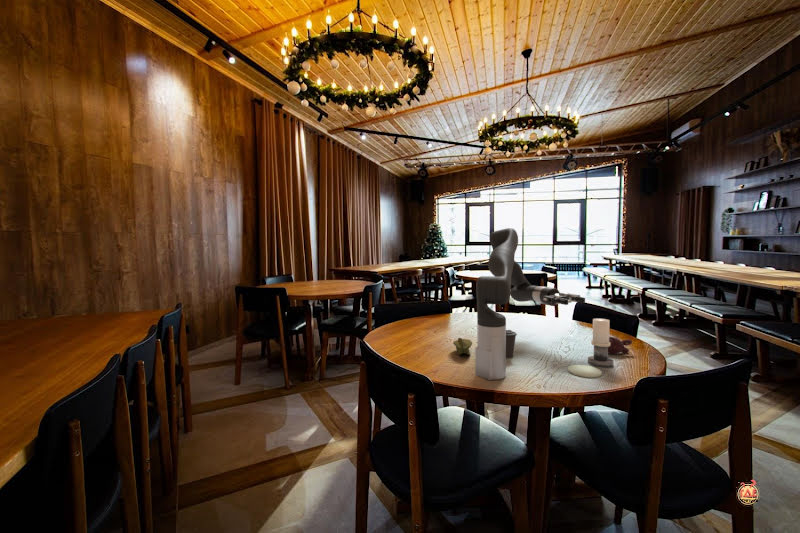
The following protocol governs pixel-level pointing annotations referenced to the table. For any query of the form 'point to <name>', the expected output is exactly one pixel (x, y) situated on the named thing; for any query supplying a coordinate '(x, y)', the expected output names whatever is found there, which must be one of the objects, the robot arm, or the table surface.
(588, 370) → the coaster
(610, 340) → the brown turtle figurine
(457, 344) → the fruit
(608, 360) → the dark grey stepped piece
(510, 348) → the coffee cup
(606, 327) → the cream white cylinder
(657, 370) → the table surface
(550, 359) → the table surface
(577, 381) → the table surface
